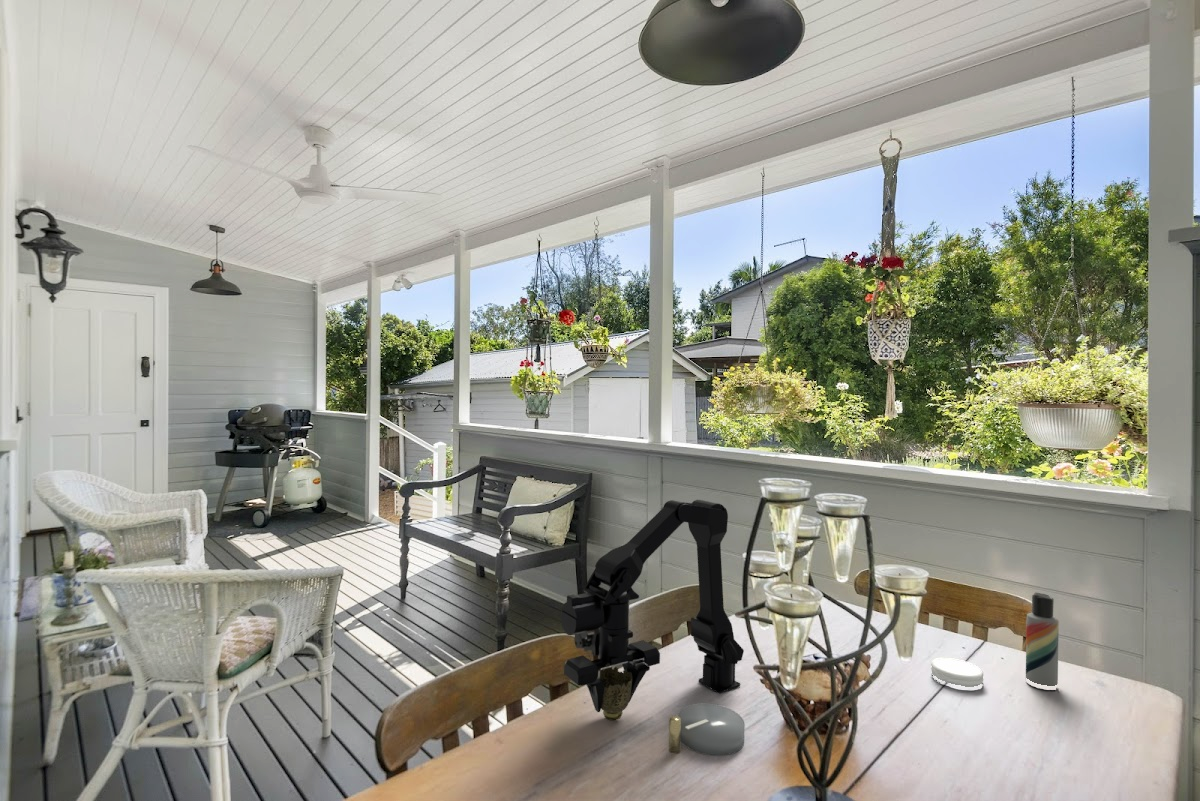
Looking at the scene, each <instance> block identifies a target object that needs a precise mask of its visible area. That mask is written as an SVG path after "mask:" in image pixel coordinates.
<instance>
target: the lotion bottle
mask: <svg viewBox="0 0 1200 801" xmlns="http://www.w3.org/2000/svg"><path fill="white" fill-rule="evenodd" d="M1031 600H1032V601H1031V606H1032V607H1031V612H1028V613H1027V614H1026V623H1025V624H1026V628H1025V629H1026V632H1025V635H1026V636H1025V638H1026V639H1025V679H1026V678H1027V679H1029V680H1030V681H1032V682H1034V683H1037V684H1041V685H1047V686H1055V685H1057V684H1058V683H1059V634H1060V633H1059V631H1060V630H1059V629H1060V627H1059V625H1060V623H1059V622H1060V621H1059V618H1057V617H1055V616H1054V603H1055V602H1054V598H1053V597H1052V596H1051V595H1049V594H1045V593H1040V592H1034V593H1033V594H1032V595H1031ZM1058 685H1059V684H1058Z"/></svg>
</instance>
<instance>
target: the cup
mask: <svg viewBox="0 0 1200 801" xmlns="http://www.w3.org/2000/svg"><path fill="white" fill-rule="evenodd" d="M600 678H601V679H603V680H604V681H605V684H604V691H603V699H602V706H601V711H603V712H602V714H603V717H604V718H605V719H606V720H609V721H613V722H614V721H618V720H620V719H621V718H622V717H623V711H624V710H625V709H626V708H627V707H628V705H629V703H630V702H629V700H630V695H631V687H632V679H633V676H632V673H631V672H628V671H627V669H624V668H623V671H622V670H621V671H619V668H618V666H614V667H610V668H607V669H603V670H601V672H600ZM630 701H631V700H630Z"/></svg>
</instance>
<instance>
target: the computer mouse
mask: <svg viewBox="0 0 1200 801" xmlns="http://www.w3.org/2000/svg"><path fill="white" fill-rule="evenodd" d="M676 716H678V717H680V718H681V734H680V744H682V745H684V746H685V747H686V748H688V750H689V749H690V750H691V751H693V752H695V753H699V754H702V755H706V756H714V757H716V756H717V757H718V756H719V757H720V756H723V757H724V756H727V755H733V754H735V753H737V752H738V751H740V750H741V749H742V748H743V747H744V745H745V730H746V729H745V728H746V724H745V721H744V719H743V717H742V716H741V715H740V713H738V712H736V711H735V710H733V709H731V708H729V707H727V706H723V705H719V704H714V703H708V702H707V703H705V702H703V703H702V702H701V703H692V704H689V705H686V706H684V707H682V708H681V709H680V710H679V711H678V712H677V715H676Z"/></svg>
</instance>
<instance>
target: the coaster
mask: <svg viewBox="0 0 1200 801" xmlns="http://www.w3.org/2000/svg"><path fill="white" fill-rule="evenodd" d="M930 663H931V664H930V665H931V667H930V670H931V672H932V674H933V675H934V676H936V677H937V678H938V679H940V680H942V681H945V682H947V683H951V684H955V685H961V686H965V687H974V686H978V685H980V684H982V683H983V684H984V672H983V671H982V669H981V668H980V667H979V666H977V665H975V663H971V662H968V661H967V660H962V659H957V658H954V657H936V658H934V659H933V660H932V661H931V662H930Z"/></svg>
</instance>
